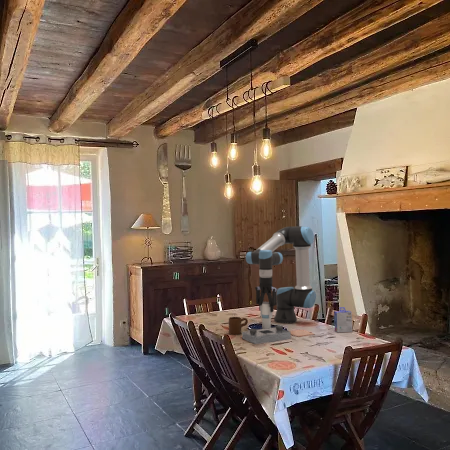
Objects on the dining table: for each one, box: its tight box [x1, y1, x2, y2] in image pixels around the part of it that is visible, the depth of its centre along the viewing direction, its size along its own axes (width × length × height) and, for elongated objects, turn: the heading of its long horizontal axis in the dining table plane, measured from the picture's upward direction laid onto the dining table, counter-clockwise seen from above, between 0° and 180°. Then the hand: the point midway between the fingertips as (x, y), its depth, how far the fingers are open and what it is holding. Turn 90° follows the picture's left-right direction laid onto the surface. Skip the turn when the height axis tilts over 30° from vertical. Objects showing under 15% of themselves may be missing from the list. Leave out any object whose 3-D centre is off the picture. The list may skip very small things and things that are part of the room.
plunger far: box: [275, 325, 284, 331], centre depth 262 cm, size 4×4×5 cm
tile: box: [290, 329, 315, 338], centre depth 270 cm, size 12×12×1 cm
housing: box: [241, 326, 292, 345], centre depth 258 cm, size 14×24×4 cm, turn 118°
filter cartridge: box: [261, 301, 272, 329], centre depth 258 cm, size 5×5×15 cm
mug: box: [228, 316, 249, 336], centre depth 273 cm, size 12×8×9 cm, turn 104°
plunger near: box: [248, 328, 258, 335], centre depth 254 cm, size 4×4×5 cm
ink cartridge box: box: [333, 306, 353, 333], centre depth 275 cm, size 10×6×14 cm, turn 97°
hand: (266, 317), depth 258 cm, fingers closed on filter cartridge, 5 cm apart
